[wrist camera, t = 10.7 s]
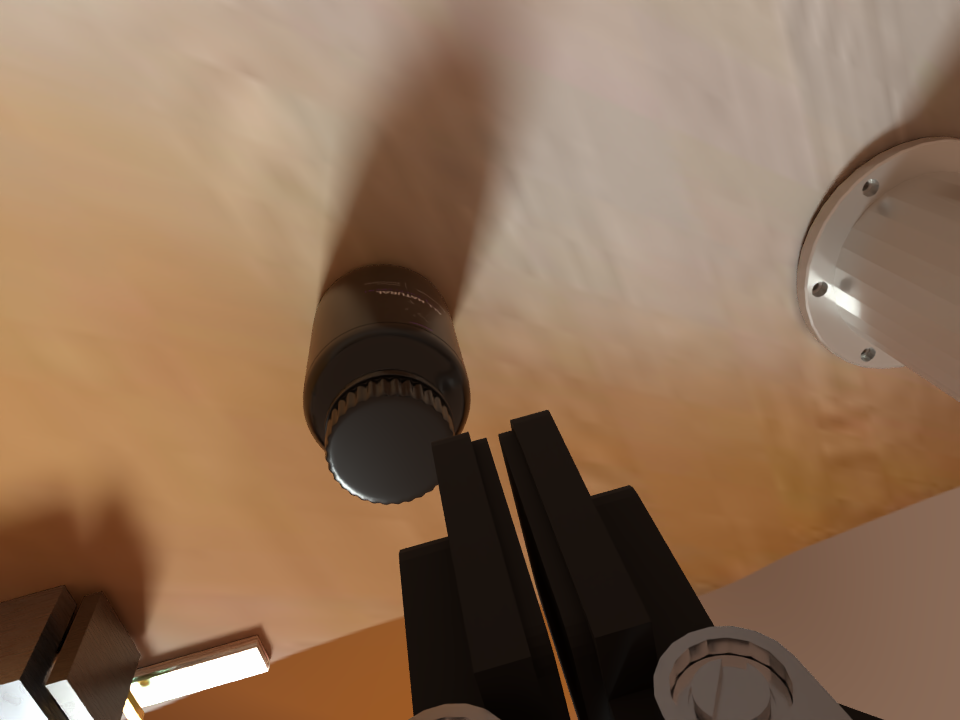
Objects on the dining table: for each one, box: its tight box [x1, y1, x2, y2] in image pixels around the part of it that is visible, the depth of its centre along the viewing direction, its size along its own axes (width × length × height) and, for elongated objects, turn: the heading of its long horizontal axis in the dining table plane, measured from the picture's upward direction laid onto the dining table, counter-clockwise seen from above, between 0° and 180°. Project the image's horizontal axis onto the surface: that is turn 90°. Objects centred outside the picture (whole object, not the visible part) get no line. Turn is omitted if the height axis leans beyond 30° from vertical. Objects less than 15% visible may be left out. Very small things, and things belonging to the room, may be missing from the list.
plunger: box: [42, 592, 144, 720], centre depth 41 cm, size 11×8×6 cm
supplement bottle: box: [303, 264, 471, 505], centre depth 33 cm, size 7×7×12 cm
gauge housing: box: [0, 585, 270, 720], centre depth 41 cm, size 20×9×6 cm, turn 103°
